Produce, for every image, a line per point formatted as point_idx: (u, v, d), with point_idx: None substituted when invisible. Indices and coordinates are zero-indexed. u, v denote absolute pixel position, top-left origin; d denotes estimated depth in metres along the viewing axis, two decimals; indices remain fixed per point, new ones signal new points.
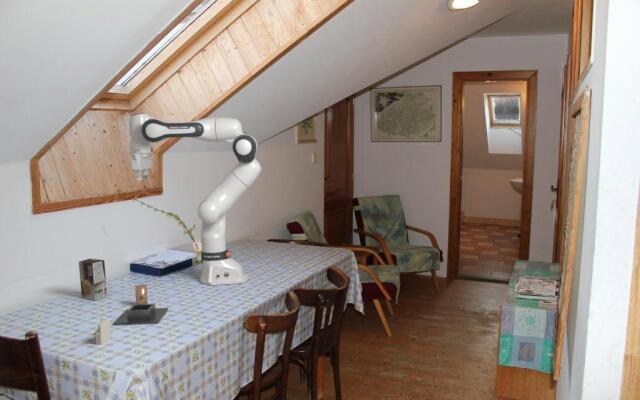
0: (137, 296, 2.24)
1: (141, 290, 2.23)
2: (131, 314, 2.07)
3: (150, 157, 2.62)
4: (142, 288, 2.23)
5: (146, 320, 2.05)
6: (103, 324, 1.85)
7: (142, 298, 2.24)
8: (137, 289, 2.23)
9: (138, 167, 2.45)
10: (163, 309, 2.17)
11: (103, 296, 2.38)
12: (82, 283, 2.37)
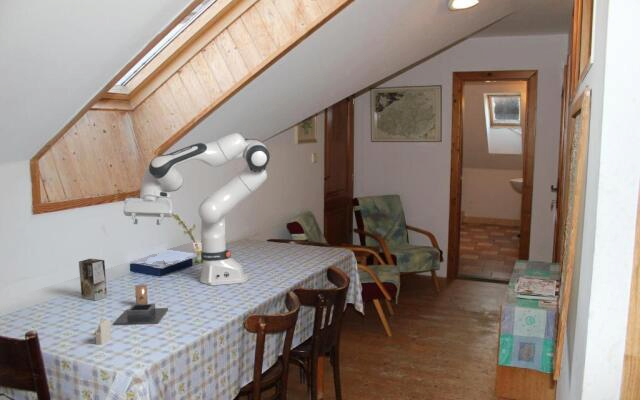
0: (137, 296, 2.24)
1: (141, 290, 2.23)
2: (131, 314, 2.07)
3: (167, 202, 2.43)
4: (142, 288, 2.23)
5: (146, 320, 2.05)
6: (103, 324, 1.85)
7: (142, 298, 2.24)
8: (137, 289, 2.23)
9: None
10: (163, 309, 2.17)
11: (103, 296, 2.38)
12: (82, 283, 2.37)
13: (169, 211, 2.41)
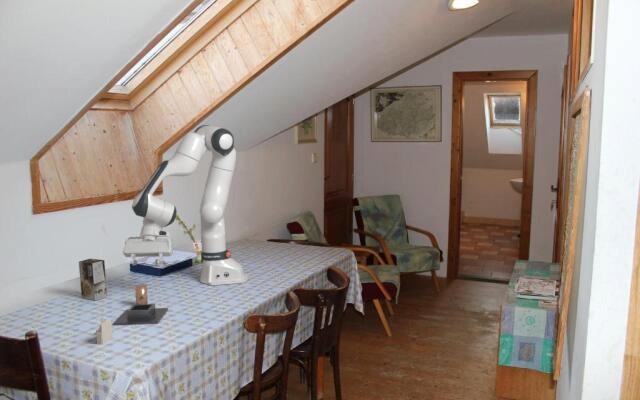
0: (137, 296, 2.24)
1: (141, 290, 2.23)
2: (131, 314, 2.07)
3: (166, 241, 2.38)
4: (142, 288, 2.23)
5: (146, 320, 2.05)
6: (104, 324, 1.86)
7: (142, 298, 2.24)
8: (137, 289, 2.23)
9: (123, 250, 2.36)
10: (163, 309, 2.17)
11: (103, 296, 2.38)
12: (82, 283, 2.37)
13: (168, 250, 2.36)
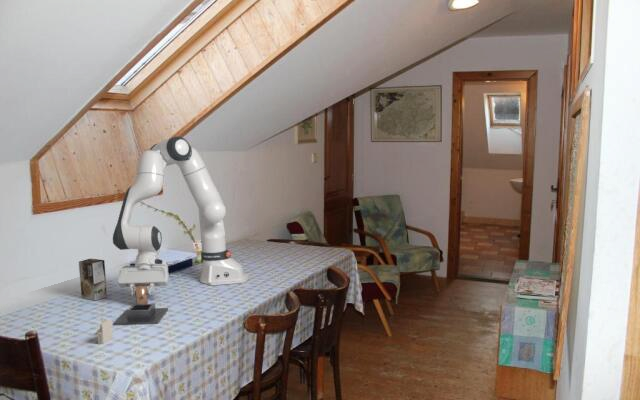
0: (137, 296, 2.23)
1: (141, 290, 2.23)
2: (131, 314, 2.07)
3: (162, 270, 2.29)
4: (142, 288, 2.23)
5: (146, 320, 2.05)
6: (105, 324, 1.86)
7: (142, 298, 2.24)
8: (137, 289, 2.23)
9: None
10: (163, 309, 2.17)
11: (103, 296, 2.38)
12: (82, 283, 2.37)
13: (164, 279, 2.27)
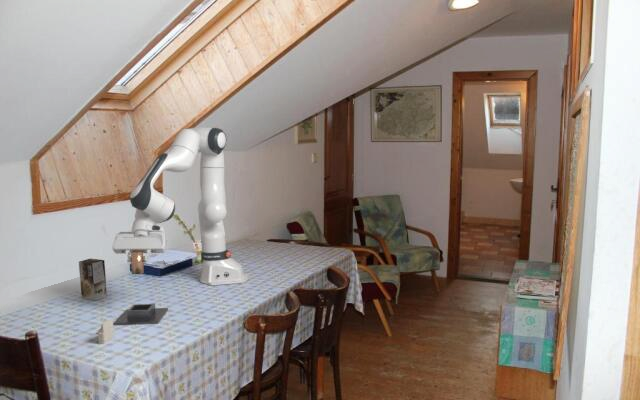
0: (133, 262, 2.14)
1: (137, 256, 2.13)
2: (131, 314, 2.07)
3: (160, 237, 2.20)
4: (138, 254, 2.13)
5: (146, 320, 2.05)
6: (106, 323, 1.86)
7: (138, 264, 2.14)
8: (133, 255, 2.13)
9: None
10: (163, 309, 2.17)
11: (103, 296, 2.38)
12: (82, 283, 2.37)
13: (161, 246, 2.17)
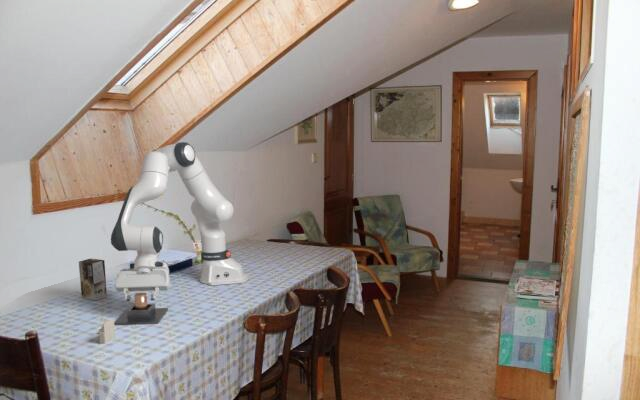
0: (136, 305, 2.09)
1: (141, 299, 2.08)
2: (131, 314, 2.07)
3: (163, 273, 2.14)
4: (142, 296, 2.08)
5: (146, 320, 2.05)
6: (107, 323, 1.86)
7: (142, 307, 2.09)
8: (136, 298, 2.08)
9: (115, 284, 2.12)
10: (163, 309, 2.17)
11: (103, 296, 2.38)
12: (82, 283, 2.37)
13: (165, 283, 2.12)
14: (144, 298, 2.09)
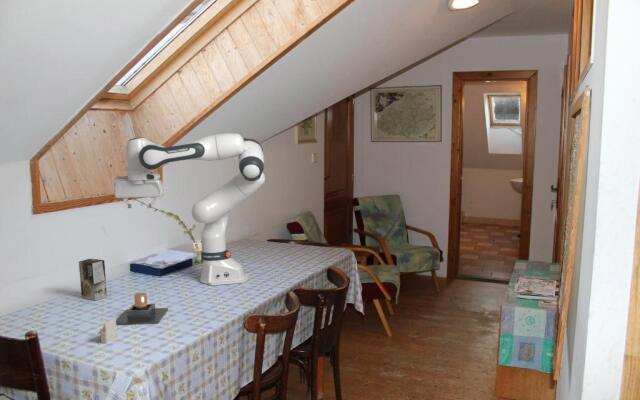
0: (136, 305, 2.09)
1: (141, 298, 2.08)
2: (131, 314, 2.07)
3: (156, 185, 2.38)
4: (142, 296, 2.08)
5: (146, 320, 2.05)
6: (108, 323, 1.86)
7: (142, 307, 2.09)
8: (136, 297, 2.08)
9: None
10: (163, 309, 2.17)
11: (103, 296, 2.38)
12: (82, 283, 2.37)
13: (159, 195, 2.39)
14: (144, 298, 2.09)
